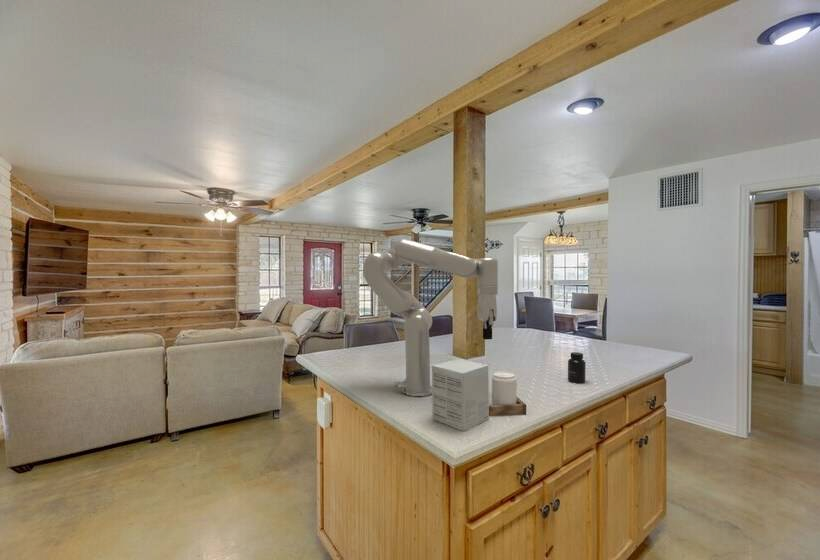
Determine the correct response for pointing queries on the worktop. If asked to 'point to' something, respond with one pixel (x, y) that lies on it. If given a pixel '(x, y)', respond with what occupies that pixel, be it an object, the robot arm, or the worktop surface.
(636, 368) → the worktop surface
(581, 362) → the supplement bottle
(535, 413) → the worktop surface
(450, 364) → the supplement box
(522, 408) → the bay
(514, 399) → the white lidded jar
